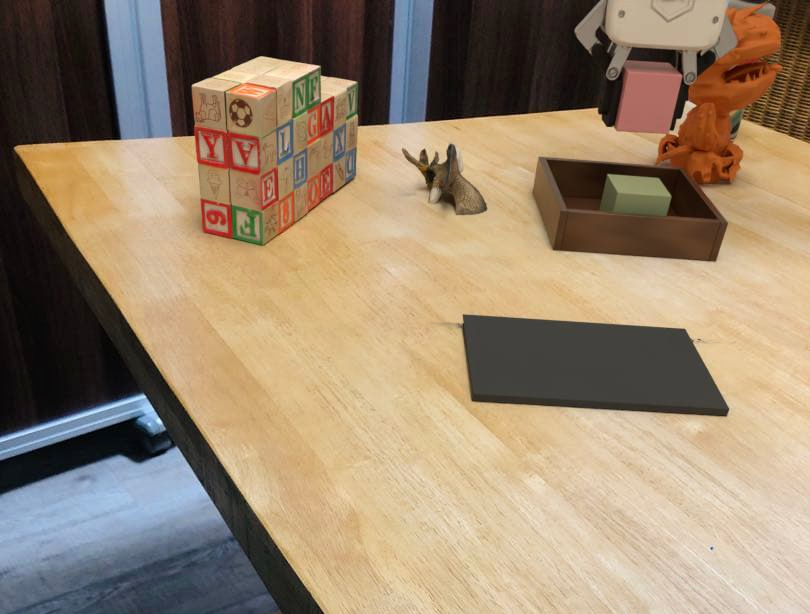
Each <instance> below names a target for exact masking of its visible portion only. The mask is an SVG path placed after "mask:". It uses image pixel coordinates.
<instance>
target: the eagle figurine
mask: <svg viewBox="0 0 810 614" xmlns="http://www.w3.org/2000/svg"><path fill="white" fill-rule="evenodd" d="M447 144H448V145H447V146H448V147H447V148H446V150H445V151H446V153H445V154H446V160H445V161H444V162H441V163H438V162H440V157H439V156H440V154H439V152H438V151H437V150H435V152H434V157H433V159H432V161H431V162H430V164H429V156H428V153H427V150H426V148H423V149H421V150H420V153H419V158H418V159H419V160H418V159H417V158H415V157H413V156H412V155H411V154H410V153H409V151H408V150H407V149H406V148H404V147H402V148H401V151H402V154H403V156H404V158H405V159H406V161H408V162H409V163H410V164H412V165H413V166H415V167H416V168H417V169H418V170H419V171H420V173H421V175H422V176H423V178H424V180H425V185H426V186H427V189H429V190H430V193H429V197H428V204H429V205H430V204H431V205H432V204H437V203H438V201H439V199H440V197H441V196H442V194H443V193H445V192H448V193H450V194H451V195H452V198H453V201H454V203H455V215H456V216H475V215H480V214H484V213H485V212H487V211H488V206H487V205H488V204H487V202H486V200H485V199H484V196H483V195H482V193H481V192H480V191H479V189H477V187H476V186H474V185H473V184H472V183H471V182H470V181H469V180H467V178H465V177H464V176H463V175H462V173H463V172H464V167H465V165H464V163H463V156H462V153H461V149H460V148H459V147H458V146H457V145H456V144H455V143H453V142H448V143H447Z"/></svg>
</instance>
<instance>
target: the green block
mask: <svg viewBox="0 0 810 614" xmlns="http://www.w3.org/2000/svg"><path fill="white" fill-rule="evenodd" d="M671 197H672V196H671V195H670V193H669V192H668V190H667V189H666V188H665V186H664V185H663V183H662V182H661V180H660V179H659V178H652V177H639V176H626V175H612V174H607V178H606V182H605V187H604V191H603V196H602V200H601V205H600V210H599V211H606V212H620V213H634V214H648V215H661V216H666V215H667V212H668V208H669V204H670V201H671Z"/></svg>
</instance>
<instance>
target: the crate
mask: <svg viewBox="0 0 810 614" xmlns="http://www.w3.org/2000/svg"><path fill="white" fill-rule="evenodd" d="M607 174H612V175H626V176H639V177H652V178H659V179H660V180H661V182H662V183H663V185H664V186H665V188H666V189H667V190H668V192H669V193H670V195H671V196H672V197H671V201H670V204H669V208H668V212H667V215H666V216H661V215H648V214H634V213H620V212H606V211H599V210H600V205H601V200H602V196H603V191H604V187H605V182H606V178H607ZM532 196H533V198H534V201H535V204H536V207H537V209H538V213H539V215H540V218H541V220H542V223H543V227H544V229H545V232H546V235H547V237H548V240H549V243H550V247H551V249H552V251H557V252H569V253H584V254H598V255H599V254H601V255H613V256H625V257H626V256H629V257H641V258H642V257H645V258H654V259H655V258H656V259H670V260H683V261H684V260H686V261H700V262H713V263H716V262H717V260H718V256H719V253H720V250H721V247H722V244H723V241H724V238H725V235H726V231H727V228H728V225H729V222H728V221H727V219H726V217H724V215H723V214H722V213H721V212H720V210H719V209H718V208H717V206H716V205H715V204H714V203H713V201H712V200H711V199H710V198H709V197H708V195H707V194H706V193H705V191H704V190H703V189H702V187H700V185H699V184H698V182H696V181H695V180H694V179H693V178H692V176H691V175H690V174H689V173H688V171H687V170H686V169H685V168H684V167H670V166H669V165H658V164H657V165H654V164H642V163H630V162H616V161H606V160H605V161H604V160H603V161H602V160H593V159H591V160H590V159H576V158H566V157H563V158H562V157H553V156H552V157H550V156H540V155H539V156H538V157H537V162H536V170H535V174H534V181H533V187H532Z"/></svg>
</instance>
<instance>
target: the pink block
mask: <svg viewBox="0 0 810 614" xmlns="http://www.w3.org/2000/svg"><path fill="white" fill-rule="evenodd" d="M620 80H621V81H622V82H623V87H622V92H621V97H620V102H619V107H618V112H617V117H616V122H615V125H614V126H613V127H612V128H614V130H615V131H616V132H621V133H622V132H623V133H624V132H625V133H641V134H642V133H643V134H660V135H666V134H670V126H671V122H672V118H673V114H674V110H675V105H676V101H677V97H678V93H679V89H680V84H681V80H682V75H681V74H680V73H679V72H678V71H677V70H676V67H674V66H673V65H672V64H671V63H670V62H661V61H646V60H645V61H643V60H628V59H626V61H625V63H624V66H623V68H622V70H621V77H620Z"/></svg>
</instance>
